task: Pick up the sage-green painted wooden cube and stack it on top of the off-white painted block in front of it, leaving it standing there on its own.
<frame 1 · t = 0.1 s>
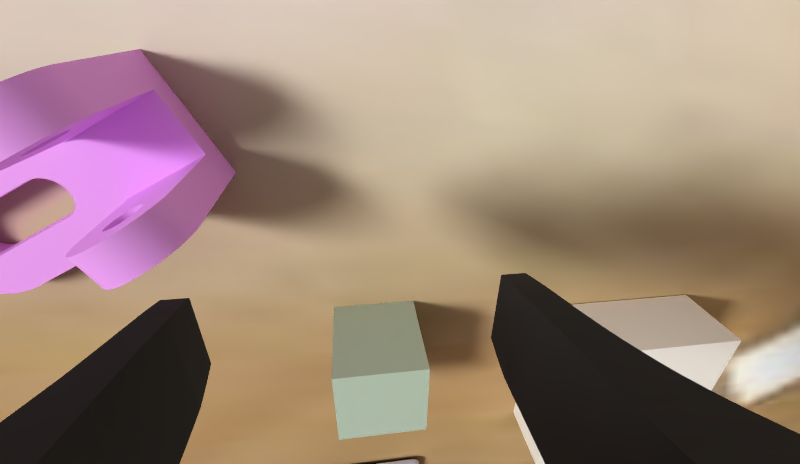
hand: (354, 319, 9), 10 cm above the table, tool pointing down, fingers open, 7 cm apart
bracket: (72, 184, 17), on the table
painted block: (593, 357, 27), on the table
green cube: (375, 332, 23), on the table
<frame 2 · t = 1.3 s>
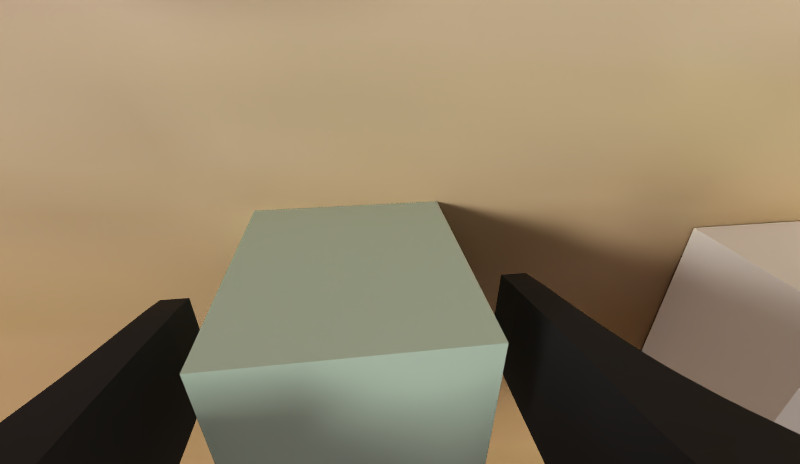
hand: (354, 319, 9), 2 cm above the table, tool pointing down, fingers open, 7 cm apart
painted block: (765, 338, 14), on the table
green cube: (353, 278, 11), on the table
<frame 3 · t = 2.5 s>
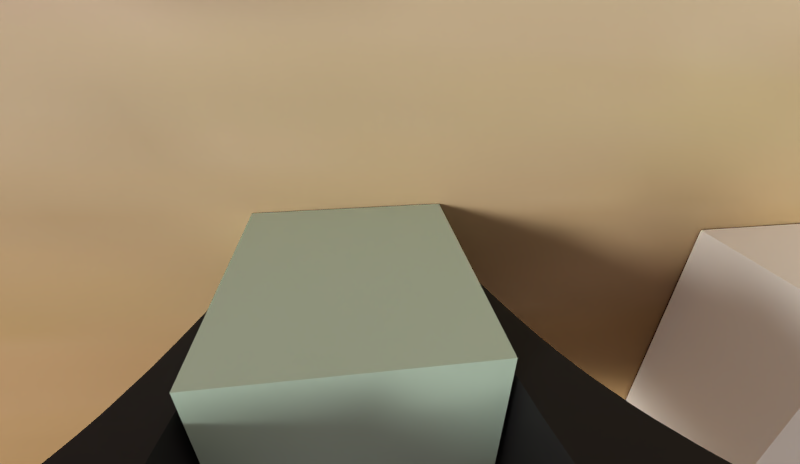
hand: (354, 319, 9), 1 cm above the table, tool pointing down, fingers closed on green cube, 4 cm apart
painted block: (771, 341, 14), on the table
green cube: (353, 283, 10), on the table, touching gripper
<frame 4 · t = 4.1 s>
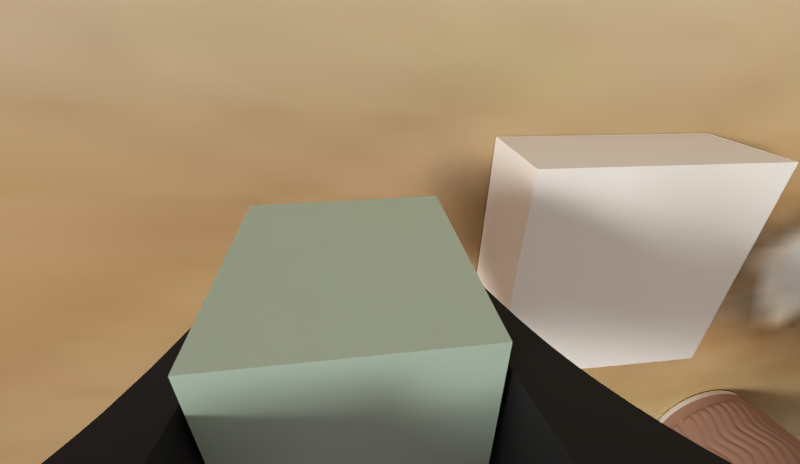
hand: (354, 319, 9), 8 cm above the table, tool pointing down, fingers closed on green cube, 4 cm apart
coffee cup: (693, 417, 29), on the table
painted block: (578, 234, 19), on the table
green cube: (351, 275, 10), point 7 cm above the table, touching gripper
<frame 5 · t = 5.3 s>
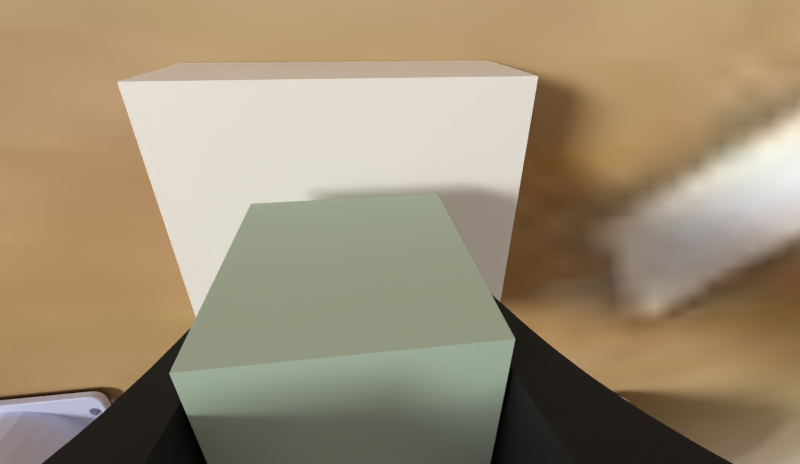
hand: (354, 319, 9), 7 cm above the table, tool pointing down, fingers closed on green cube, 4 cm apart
painted block: (350, 199, 15), on the table
green cube: (352, 274, 10), point 5 cm above the table, touching gripper
when the fingers open (7 cm above the table, at t = 6.0 s): green cube drops 1 cm, resting on painted block.
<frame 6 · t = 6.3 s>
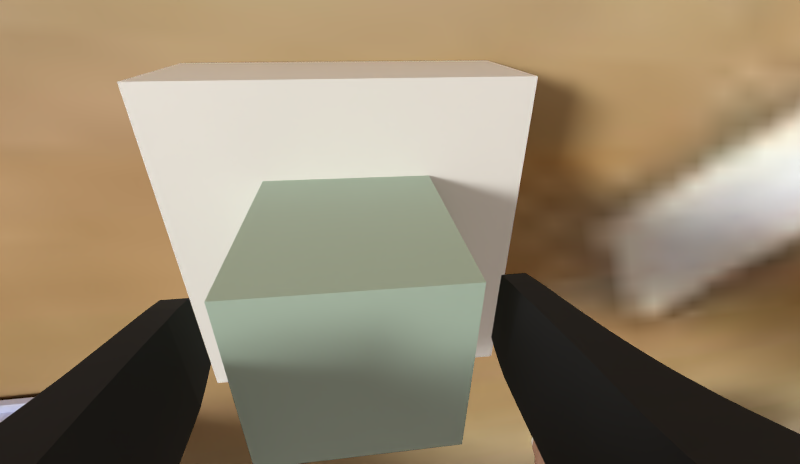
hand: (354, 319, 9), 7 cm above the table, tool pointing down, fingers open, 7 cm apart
painted block: (350, 199, 15), on the table
green cube: (351, 248, 12), point 4 cm above the table, touching painted block
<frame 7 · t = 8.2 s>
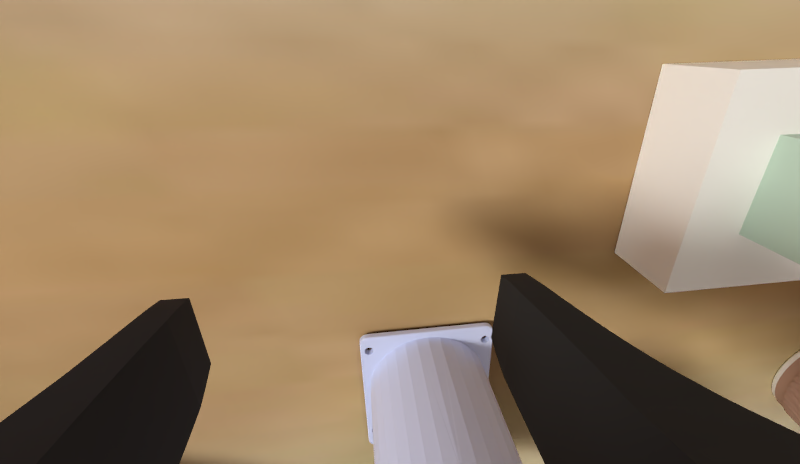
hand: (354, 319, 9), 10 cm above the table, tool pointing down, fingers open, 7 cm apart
painted block: (724, 163, 20), on the table
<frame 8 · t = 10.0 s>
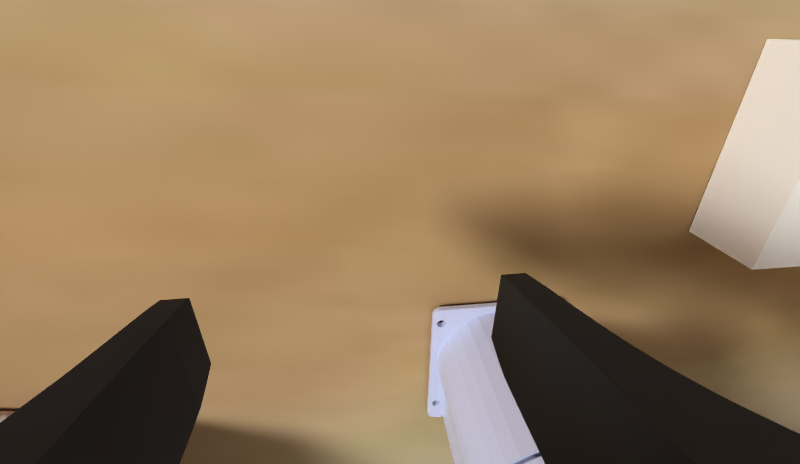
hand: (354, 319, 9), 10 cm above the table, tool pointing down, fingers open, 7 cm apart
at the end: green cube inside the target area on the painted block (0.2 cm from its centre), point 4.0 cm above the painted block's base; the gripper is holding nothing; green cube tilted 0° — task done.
